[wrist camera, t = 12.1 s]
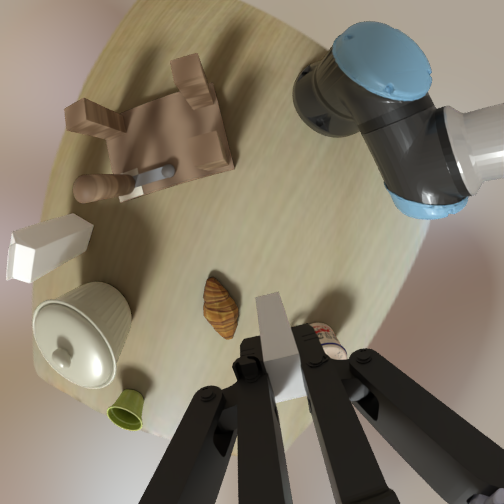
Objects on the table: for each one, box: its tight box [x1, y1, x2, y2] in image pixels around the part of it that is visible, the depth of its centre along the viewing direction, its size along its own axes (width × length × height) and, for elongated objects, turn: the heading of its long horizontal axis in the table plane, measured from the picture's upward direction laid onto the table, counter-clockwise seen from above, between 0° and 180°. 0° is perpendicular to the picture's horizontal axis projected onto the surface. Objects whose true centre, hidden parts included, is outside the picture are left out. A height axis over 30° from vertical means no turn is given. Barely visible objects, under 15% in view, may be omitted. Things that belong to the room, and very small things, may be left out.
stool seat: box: [64, 53, 234, 203], centre depth 36 cm, size 21×16×16 cm
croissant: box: [203, 277, 238, 339], centre depth 50 cm, size 14×7×5 cm, turn 13°
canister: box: [32, 282, 132, 389], centre depth 41 cm, size 18×18×21 cm
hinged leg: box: [73, 164, 176, 203], centre depth 35 cm, size 11×4×15 cm, turn 102°
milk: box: [6, 213, 94, 283], centre depth 37 cm, size 6×6×22 cm
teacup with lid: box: [309, 323, 347, 360], centre depth 50 cm, size 12×9×12 cm
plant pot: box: [107, 389, 144, 431], centre depth 54 cm, size 9×9×9 cm
